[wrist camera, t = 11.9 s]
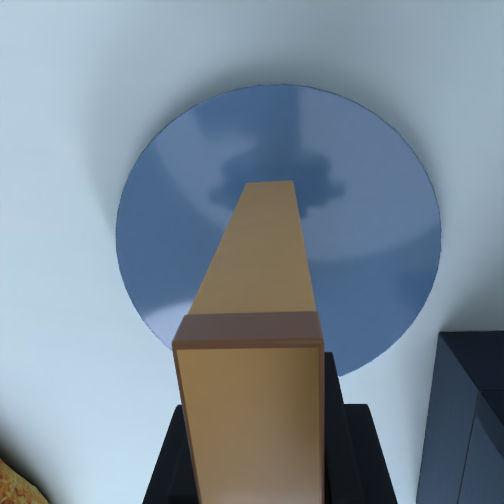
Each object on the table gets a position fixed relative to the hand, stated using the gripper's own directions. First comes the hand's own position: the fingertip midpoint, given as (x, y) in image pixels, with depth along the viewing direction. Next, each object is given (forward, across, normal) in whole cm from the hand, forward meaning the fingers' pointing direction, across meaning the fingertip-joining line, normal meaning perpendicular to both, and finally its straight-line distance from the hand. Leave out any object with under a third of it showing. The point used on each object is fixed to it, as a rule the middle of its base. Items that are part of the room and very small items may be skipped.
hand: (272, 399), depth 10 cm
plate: (+10, 0, 0) cm, 10 cm away
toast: (+6, 0, 0) cm, 6 cm away
